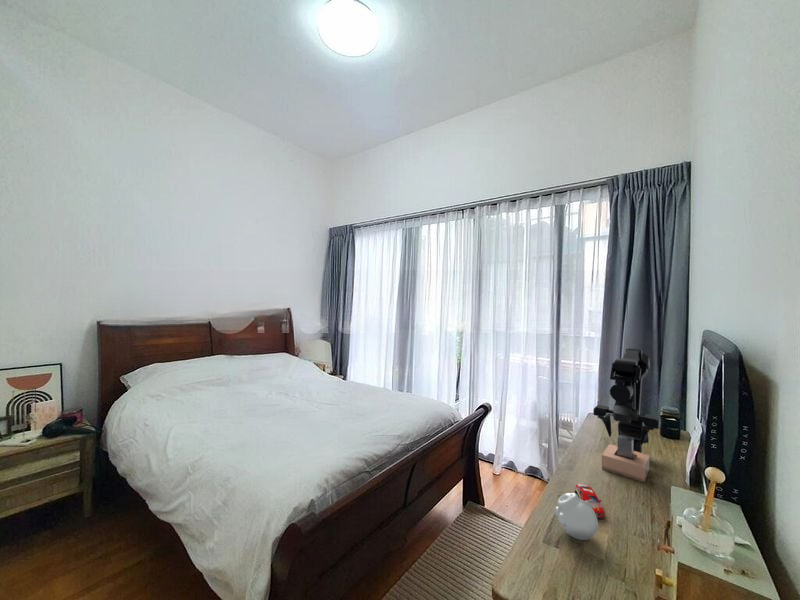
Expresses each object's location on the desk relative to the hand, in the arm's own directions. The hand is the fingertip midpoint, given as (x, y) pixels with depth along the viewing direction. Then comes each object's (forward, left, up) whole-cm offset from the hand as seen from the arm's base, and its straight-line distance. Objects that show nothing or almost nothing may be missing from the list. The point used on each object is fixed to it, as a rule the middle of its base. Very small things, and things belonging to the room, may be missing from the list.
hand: (625, 440), depth 111 cm
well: (0, 0, -10) cm, 10 cm away
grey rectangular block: (0, 0, -9) cm, 9 cm away
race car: (+32, -4, -11) cm, 34 cm away
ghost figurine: (+48, -3, -10) cm, 49 cm away
